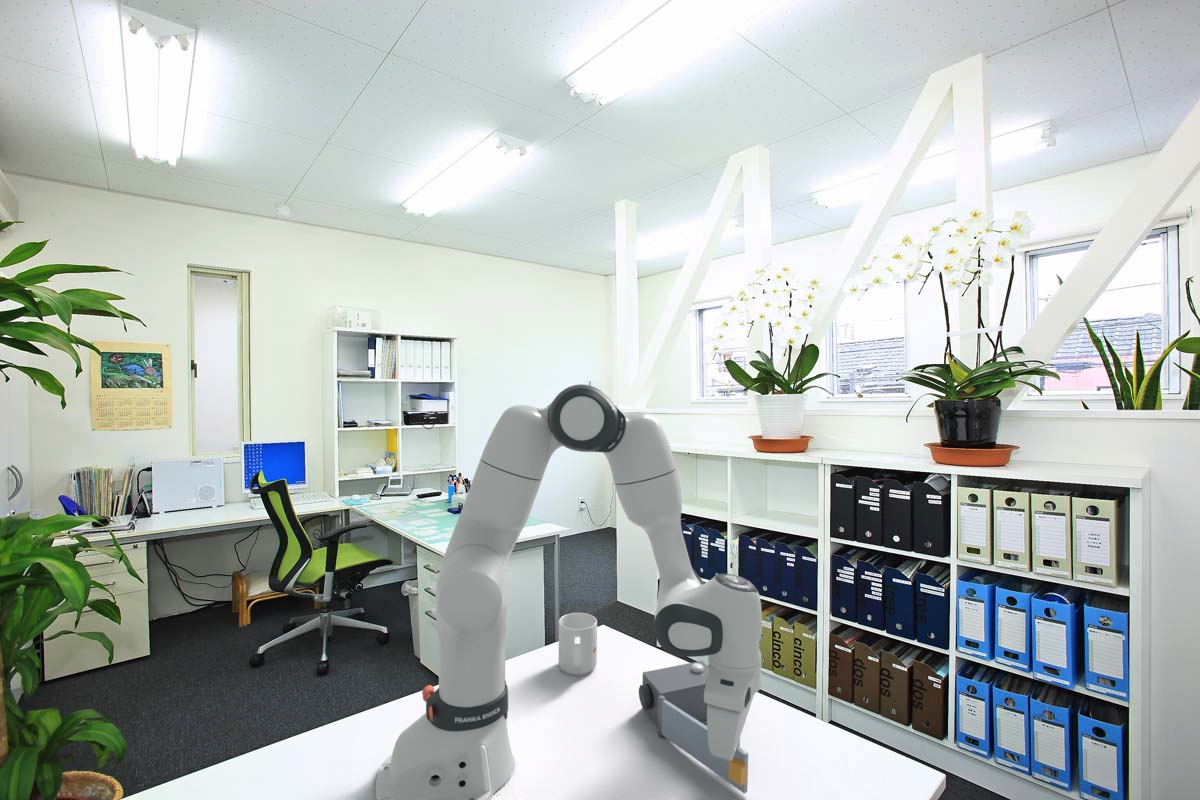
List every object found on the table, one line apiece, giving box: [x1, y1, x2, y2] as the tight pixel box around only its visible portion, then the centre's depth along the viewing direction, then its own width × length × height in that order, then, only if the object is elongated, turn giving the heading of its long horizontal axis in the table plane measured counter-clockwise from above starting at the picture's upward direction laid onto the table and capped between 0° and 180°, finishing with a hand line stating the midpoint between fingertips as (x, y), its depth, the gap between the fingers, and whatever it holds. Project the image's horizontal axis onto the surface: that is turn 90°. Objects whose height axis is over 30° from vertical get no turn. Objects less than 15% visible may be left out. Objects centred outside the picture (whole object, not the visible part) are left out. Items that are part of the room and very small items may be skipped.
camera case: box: [638, 660, 708, 730], centre depth 110 cm, size 15×8×8 cm, turn 111°
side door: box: [657, 696, 749, 794], centre depth 95 cm, size 20×2×7 cm, turn 39°
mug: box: [558, 612, 598, 677], centre depth 126 cm, size 12×9×11 cm
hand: (733, 751), depth 93 cm, fingers closed
